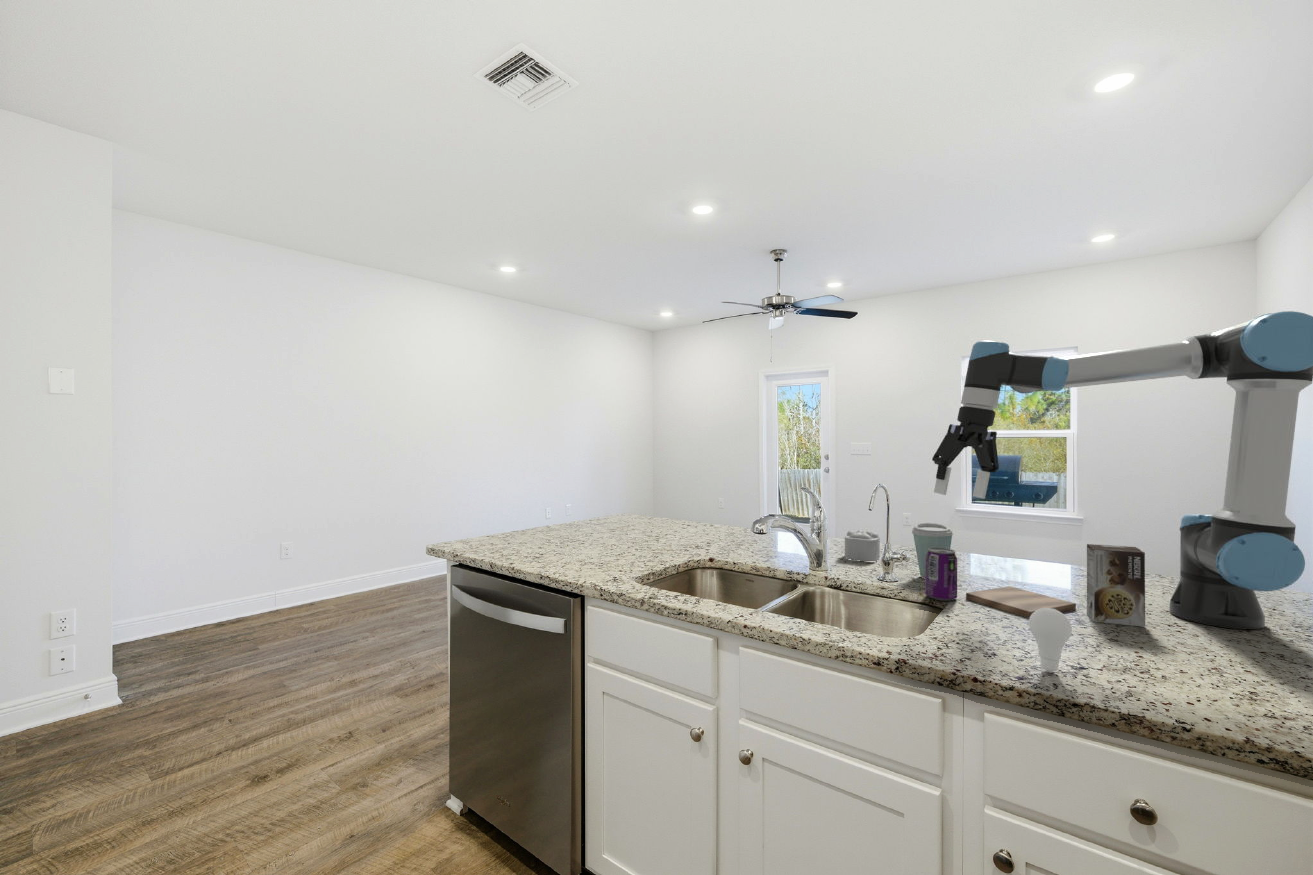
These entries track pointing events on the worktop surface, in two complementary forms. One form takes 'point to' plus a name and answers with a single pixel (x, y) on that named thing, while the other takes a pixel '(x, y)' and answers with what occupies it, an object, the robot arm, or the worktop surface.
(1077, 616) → the worktop surface
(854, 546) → the lumpy-topped squat cylinder
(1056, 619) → the lightbulb
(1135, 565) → the coffee box
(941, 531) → the disposable coffee cup
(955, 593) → the beverage can
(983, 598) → the walnut board
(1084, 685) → the worktop surface
